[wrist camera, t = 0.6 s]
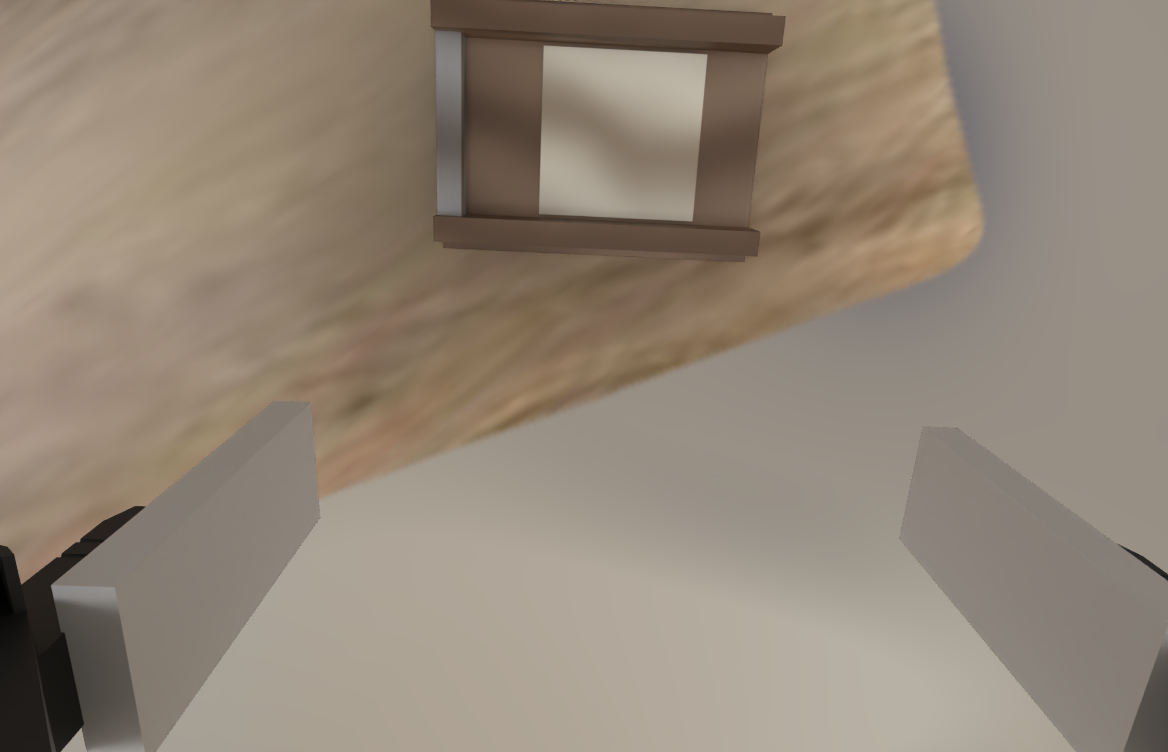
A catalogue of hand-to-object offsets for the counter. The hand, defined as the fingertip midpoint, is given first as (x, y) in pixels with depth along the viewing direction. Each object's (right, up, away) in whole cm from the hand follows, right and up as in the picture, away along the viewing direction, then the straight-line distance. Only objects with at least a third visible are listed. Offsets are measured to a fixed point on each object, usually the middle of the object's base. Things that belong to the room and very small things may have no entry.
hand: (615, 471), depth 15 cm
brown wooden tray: (0, +15, +22) cm, 26 cm away
